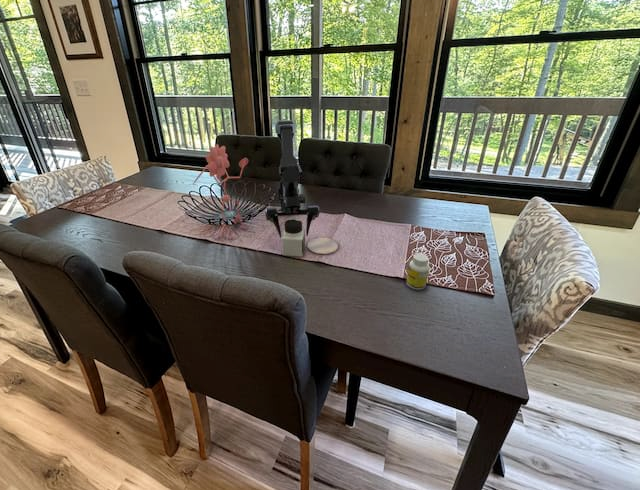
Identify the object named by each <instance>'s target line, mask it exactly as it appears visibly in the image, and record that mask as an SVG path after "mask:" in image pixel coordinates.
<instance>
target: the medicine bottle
mask: <svg viewBox="0 0 640 490" xmlns="http://www.w3.org/2000/svg"><path fill="white" fill-rule="evenodd" d="M305 248H306V229H303V222H302V221H301V220H300V219H299V218H289V219H286V220H285V221H284V231H283V234H282V236H281V251H282V256H285V257H287V256H288V257H299V258H300V257H301V258H302V257H304V252H305Z"/></svg>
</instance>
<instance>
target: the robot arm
mask: <svg viewBox="0 0 640 490" xmlns="http://www.w3.org/2000/svg"><path fill="white" fill-rule="evenodd" d="M274 130H275V134H276V135H277V138H278V140H279V142H280V147H281V158H280V165H279V166H278V176H279V178H281V179H280V182H279V186H278V187H277V188H278V190H277V191H278V201H280V208H279V209H278V208H277V207H268V208H267V207H266V209H265V220H266V221H269V222H270V223H272V224H273V225H274V227H275V228H276V231H277V234H278V236H279V238H281V239H282V231H281V225H280V220H279V217H293V216H306V220H305V221H306V223H305V224H306V226H305V237H308V236H309V232H310V227H311V224H312V221H315V220H316V219H317V218H319V216H320V213H321V211H320V207H319V205H307V207H306V209H301V207H302V206H301V204H306V194H305V193H300V188H299V184H300V178H301V176H302V175H303V170H302V168H301V166H300V165H299V164H298V158H297V157H296V156H295V155H294V144H293V138H294V137H295V133H297V124H296V122H293V119H284V120H283V119H282V120H277V123H274Z"/></svg>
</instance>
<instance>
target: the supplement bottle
mask: <svg viewBox="0 0 640 490" xmlns="http://www.w3.org/2000/svg"><path fill="white" fill-rule="evenodd" d="M429 259H430V258H429V257H428V255H426V254H424V253H418V252H417V253H414V254H413V257H412V259H411V260H410V262H409V264H408V269H407V276H406V283H405V284H406V285H407V286H408V287H409V288H410V289H413V290H418V291H419V290H420V291H421V290H423V289H425V288H426V286H427V283H428V277H429V273H430V266H431V265H430V264H429Z"/></svg>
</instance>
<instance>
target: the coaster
mask: <svg viewBox="0 0 640 490" xmlns="http://www.w3.org/2000/svg"><path fill="white" fill-rule="evenodd" d="M306 247H307V249H308V250H309V251H310V252H311V253H313V254H317V255H330V254H334V253H335V252H336V251H338V248H339V245H338V243H337V241H336V240H334V239H332V238H328V237H316V238H312V239H311V240H309V241H308V242H307V246H306Z"/></svg>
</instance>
